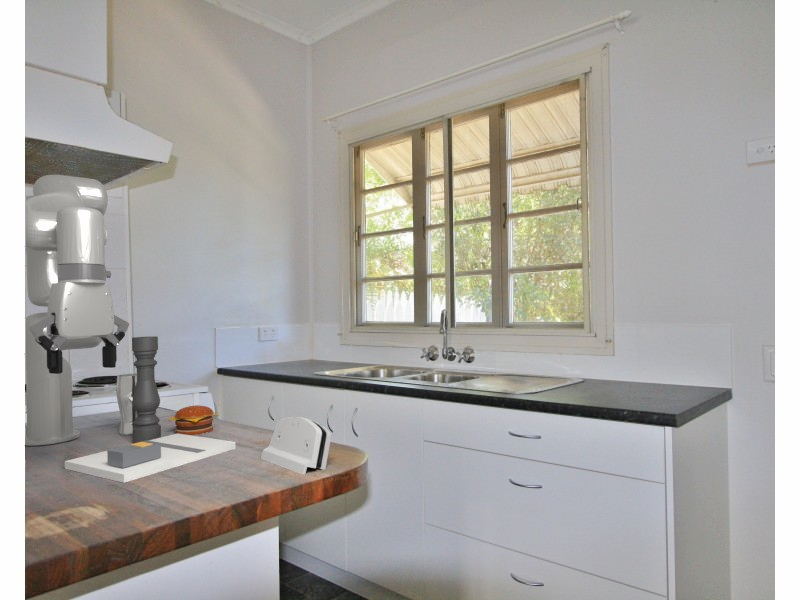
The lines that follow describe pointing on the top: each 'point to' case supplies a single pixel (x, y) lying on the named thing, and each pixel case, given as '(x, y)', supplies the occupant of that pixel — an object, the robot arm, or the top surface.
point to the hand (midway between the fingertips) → (83, 370)
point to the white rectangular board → (172, 455)
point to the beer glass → (126, 402)
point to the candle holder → (145, 390)
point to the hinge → (298, 445)
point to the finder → (133, 454)
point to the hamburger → (193, 420)
